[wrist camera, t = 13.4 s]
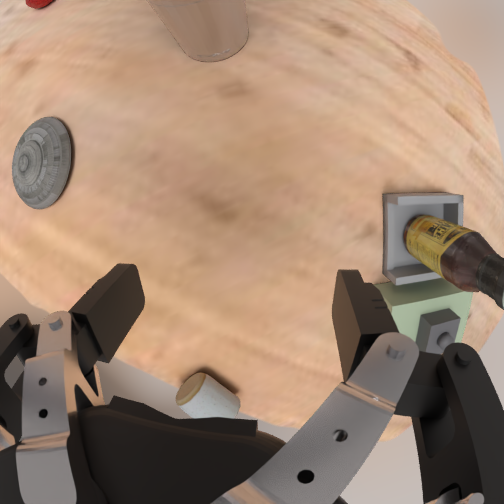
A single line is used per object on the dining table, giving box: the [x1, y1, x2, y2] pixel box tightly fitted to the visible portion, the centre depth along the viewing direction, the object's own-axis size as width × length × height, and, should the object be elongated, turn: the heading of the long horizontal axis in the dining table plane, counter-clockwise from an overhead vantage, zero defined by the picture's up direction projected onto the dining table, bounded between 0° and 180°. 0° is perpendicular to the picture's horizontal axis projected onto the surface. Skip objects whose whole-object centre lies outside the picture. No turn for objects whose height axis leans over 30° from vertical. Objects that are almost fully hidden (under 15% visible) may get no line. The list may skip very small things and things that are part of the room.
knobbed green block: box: [374, 192, 473, 354], centre depth 29 cm, size 22×14×11 cm, turn 6°
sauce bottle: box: [404, 215, 504, 310], centre depth 23 cm, size 6×6×20 cm
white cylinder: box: [176, 373, 240, 418], centre depth 39 cm, size 11×8×8 cm
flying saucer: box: [12, 117, 71, 209], centre depth 30 cm, size 15×15×6 cm
